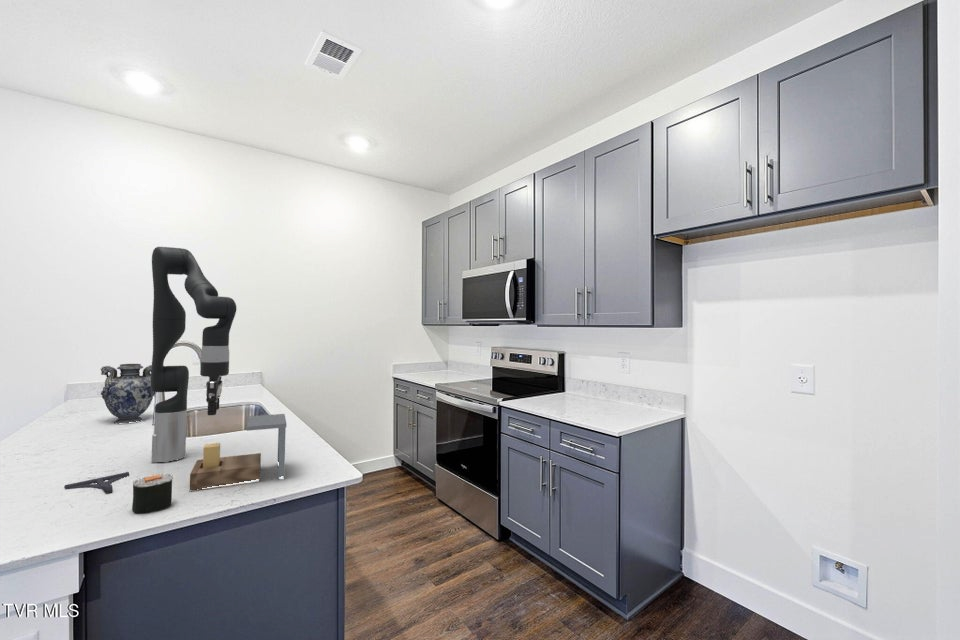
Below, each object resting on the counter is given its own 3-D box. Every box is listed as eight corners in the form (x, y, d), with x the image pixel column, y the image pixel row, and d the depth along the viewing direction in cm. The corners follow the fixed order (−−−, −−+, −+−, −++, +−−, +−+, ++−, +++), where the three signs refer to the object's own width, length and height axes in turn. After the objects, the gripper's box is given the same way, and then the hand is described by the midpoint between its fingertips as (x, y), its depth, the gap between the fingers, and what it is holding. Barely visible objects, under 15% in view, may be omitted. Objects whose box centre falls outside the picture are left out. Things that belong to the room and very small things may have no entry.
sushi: (175, 506, 110) (176, 476, 110) (134, 517, 103) (136, 485, 103) (168, 497, 115) (169, 469, 115) (129, 507, 109) (130, 476, 109)
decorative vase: (155, 415, 215) (157, 361, 215) (157, 422, 200) (158, 365, 200) (100, 420, 201) (101, 363, 201) (97, 429, 187) (99, 367, 187)
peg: (218, 478, 127) (219, 446, 127) (202, 480, 125) (203, 447, 125) (219, 474, 130) (220, 442, 131) (204, 476, 129) (205, 444, 129)
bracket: (74, 504, 111) (74, 494, 111) (64, 490, 120) (64, 480, 120) (141, 488, 123) (142, 479, 123) (127, 476, 132) (128, 468, 132)
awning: (244, 485, 125) (246, 426, 125) (247, 468, 139) (248, 416, 140) (284, 479, 130) (286, 423, 130) (283, 464, 144) (284, 413, 145)
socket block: (189, 491, 119) (190, 474, 120) (196, 475, 132) (197, 459, 132) (259, 481, 128) (260, 465, 128) (260, 467, 140) (260, 453, 140)
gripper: (227, 362, 124) (225, 416, 124) (230, 358, 136) (229, 407, 136) (197, 362, 120) (195, 418, 120) (203, 358, 133) (202, 408, 133)
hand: (213, 412), depth 128 cm, fingers open, 8 cm apart
